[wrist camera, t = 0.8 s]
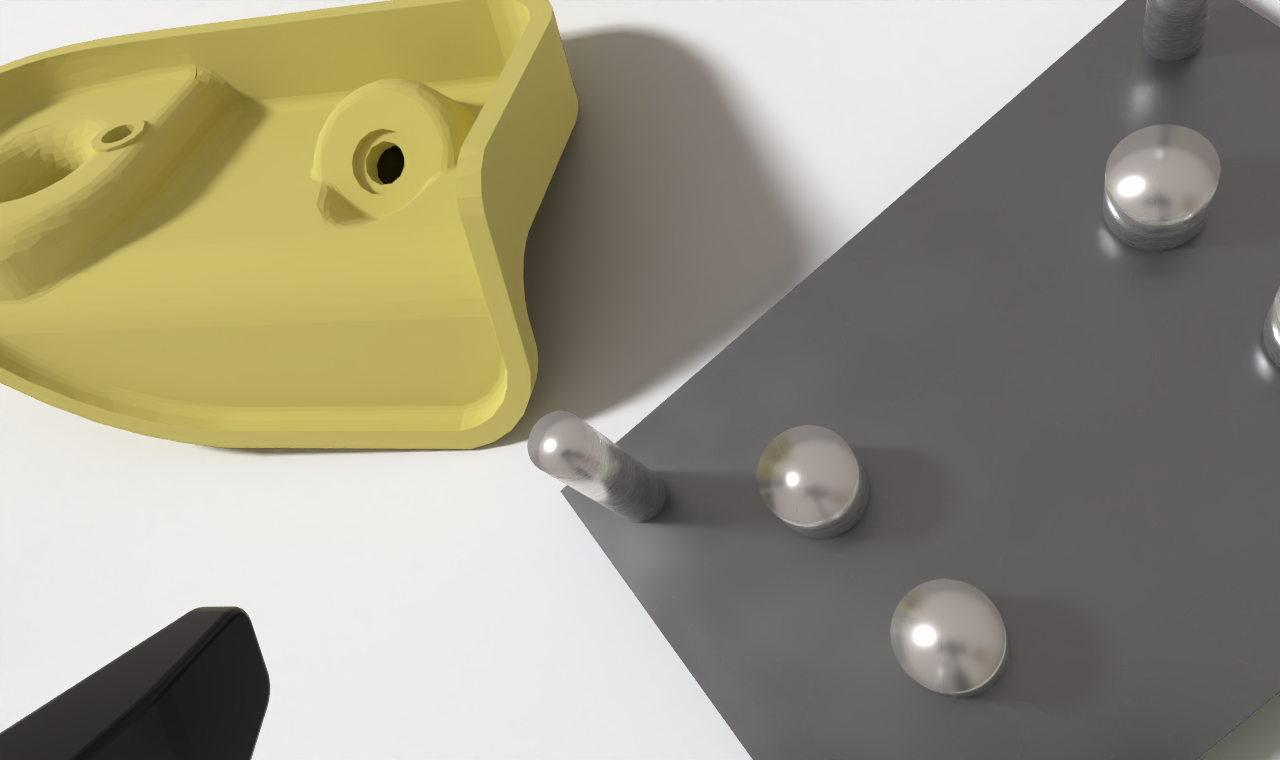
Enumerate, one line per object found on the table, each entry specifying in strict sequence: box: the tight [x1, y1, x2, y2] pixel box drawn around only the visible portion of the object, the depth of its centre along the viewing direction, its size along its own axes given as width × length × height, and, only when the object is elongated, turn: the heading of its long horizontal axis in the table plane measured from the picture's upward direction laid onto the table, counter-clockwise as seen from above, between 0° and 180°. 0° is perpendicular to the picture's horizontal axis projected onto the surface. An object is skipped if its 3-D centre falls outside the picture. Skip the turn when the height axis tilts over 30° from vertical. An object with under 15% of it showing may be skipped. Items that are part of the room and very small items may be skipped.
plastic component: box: [0, 0, 578, 449], centre depth 30 cm, size 20×7×10 cm
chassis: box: [528, 0, 1280, 760], centre depth 20 cm, size 12×18×6 cm, turn 128°
